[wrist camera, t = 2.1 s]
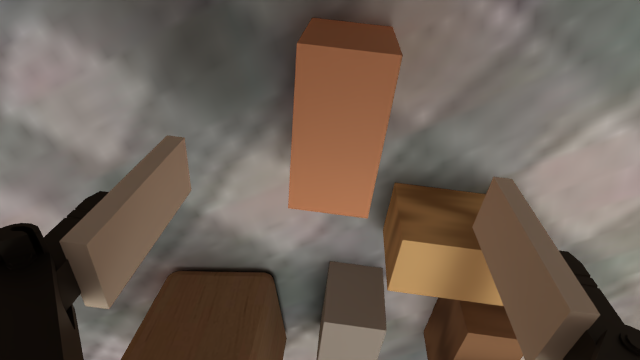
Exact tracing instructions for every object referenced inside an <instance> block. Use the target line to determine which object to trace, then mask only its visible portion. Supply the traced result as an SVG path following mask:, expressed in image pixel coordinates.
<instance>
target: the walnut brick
mask: <svg viewBox="0 0 640 360" xmlns="http://www.w3.org/2000/svg"><path fill="white" fill-rule="evenodd" d="M424 338H425V344H426V351H427V357H428V360H520V359H521V358H522V356H523V353H522V351H521V348H520V345H519V343H518V340H517V338H516V335H515V333H514V330H513V328H512V325H511V323H510V320H509V318H508V315H507V313H506V310H505V308H504V306H499V305H492V304H484V303H477V302H470V301H462V300H455V299H447V298H440V297H438V300H437V302H436V304H435V307H434V309H433V311H432V314H431V316H430V318H429V321H428V323H427V325H426V328H425V330H424Z"/></svg>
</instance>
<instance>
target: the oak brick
mask: <svg viewBox="0 0 640 360" xmlns="http://www.w3.org/2000/svg"><path fill="white" fill-rule="evenodd" d="M485 196H486V194H480V193H472V192H464V191H456V190H448V189H441V188H433V187H425V186H417V185H409V184H401V183H395V184H394V188H393V192H392V196H391V200H390V204H389V208H388V212H387V216H386V220H385V224H384V228H383V236H384V249H385V263H386V276H387V290H388V291H396V292H403V293H411V294H418V295H425V296H433V297H440V298H447V299H455V300H462V301H470V302H477V303H484V304H492V305H499V306H504V305H503V303H502V300H501V298H500V295H499V293H498V290H497V288H496V285H495V283H494V280H493V278H492V275H491V273H490V270H489V268H488V265H487V263H486V260H485V258H484V255H483V253H482V250H481V248H480V245H479V243H478V240H477V238H476V235H475V233H474V230H473V228H472V227H473V224H474V222H475V219H476V217H477V215H478V212H479V210H480V208H481V205H482V203H483V201H484V198H485Z"/></svg>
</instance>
